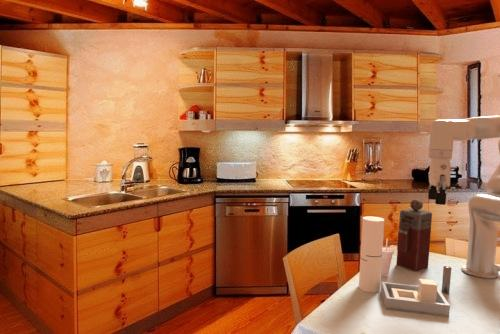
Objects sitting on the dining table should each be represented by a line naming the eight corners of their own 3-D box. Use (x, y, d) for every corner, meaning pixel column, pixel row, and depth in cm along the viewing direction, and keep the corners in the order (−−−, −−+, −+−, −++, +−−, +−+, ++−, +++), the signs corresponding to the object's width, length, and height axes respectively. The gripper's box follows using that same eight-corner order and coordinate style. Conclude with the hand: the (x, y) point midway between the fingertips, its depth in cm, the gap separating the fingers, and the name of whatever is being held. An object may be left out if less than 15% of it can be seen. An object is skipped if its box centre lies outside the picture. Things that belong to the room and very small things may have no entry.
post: (448, 291, 129) (450, 266, 128) (450, 294, 127) (452, 269, 126) (440, 290, 130) (442, 265, 129) (442, 293, 127) (444, 268, 126)
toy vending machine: (392, 265, 152) (397, 199, 150) (408, 260, 159) (412, 196, 156) (412, 273, 145) (417, 203, 142) (428, 267, 152) (433, 200, 149)
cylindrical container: (377, 294, 125) (381, 222, 123) (356, 289, 129) (360, 219, 126) (382, 286, 131) (386, 218, 129) (361, 282, 135) (365, 215, 132)
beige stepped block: (437, 309, 114) (439, 287, 113) (394, 304, 117) (395, 283, 116) (431, 298, 122) (432, 278, 121) (390, 293, 125) (392, 273, 124)
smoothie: (393, 277, 140) (395, 241, 139) (375, 275, 141) (378, 240, 140) (390, 271, 146) (392, 236, 145) (373, 269, 148) (375, 235, 146)
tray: (437, 297, 124) (438, 287, 123) (449, 316, 111) (449, 305, 111) (380, 291, 128) (381, 281, 127) (386, 308, 115) (386, 298, 115)
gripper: (459, 156, 123) (455, 207, 124) (444, 153, 139) (441, 198, 141) (435, 155, 124) (431, 205, 126) (423, 152, 141) (419, 197, 143)
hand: (436, 201), depth 134 cm, fingers open, 9 cm apart
